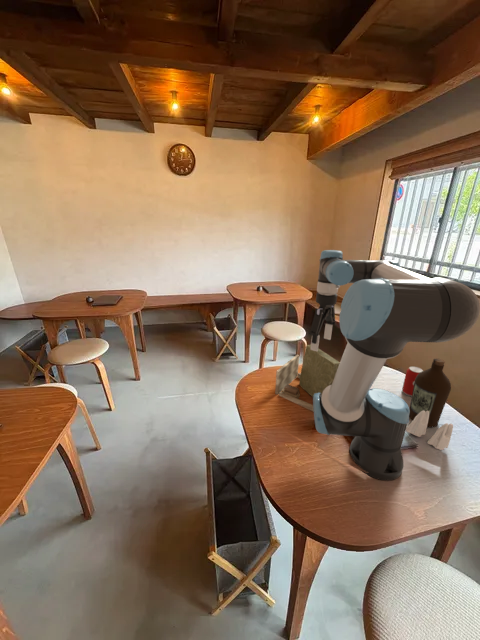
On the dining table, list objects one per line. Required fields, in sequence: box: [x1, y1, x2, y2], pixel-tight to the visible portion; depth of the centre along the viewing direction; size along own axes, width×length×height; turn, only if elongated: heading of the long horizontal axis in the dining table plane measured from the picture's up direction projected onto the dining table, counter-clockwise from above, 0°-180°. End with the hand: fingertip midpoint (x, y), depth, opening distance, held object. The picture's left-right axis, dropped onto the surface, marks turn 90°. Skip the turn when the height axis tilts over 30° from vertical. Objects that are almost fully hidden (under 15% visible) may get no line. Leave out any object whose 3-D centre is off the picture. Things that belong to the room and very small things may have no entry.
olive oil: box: [409, 357, 452, 428], centre depth 96 cm, size 11×11×25 cm
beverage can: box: [401, 366, 424, 398], centre depth 114 cm, size 6×6×12 cm
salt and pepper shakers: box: [405, 410, 454, 451], centre depth 89 cm, size 12×4×11 cm, turn 45°
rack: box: [274, 354, 314, 413], centre depth 112 cm, size 19×27×12 cm
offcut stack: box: [281, 384, 301, 399], centre depth 113 cm, size 3×7×4 cm, turn 52°
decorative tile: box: [299, 344, 340, 398], centre depth 111 cm, size 19×6×20 cm, turn 25°
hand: (321, 344), depth 107 cm, fingers open, 13 cm apart
